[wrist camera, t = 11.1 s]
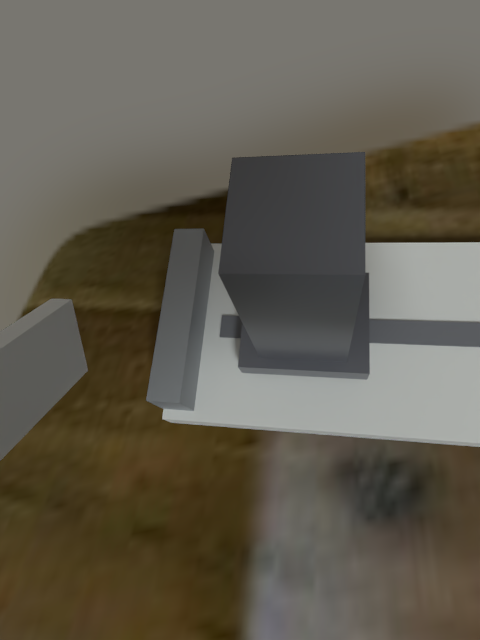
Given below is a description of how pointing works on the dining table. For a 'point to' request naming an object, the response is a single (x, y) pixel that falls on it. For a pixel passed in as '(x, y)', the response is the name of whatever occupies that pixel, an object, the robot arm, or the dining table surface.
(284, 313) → the fader knob
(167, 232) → the dining table surface
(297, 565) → the dining table surface
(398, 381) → the fader base
